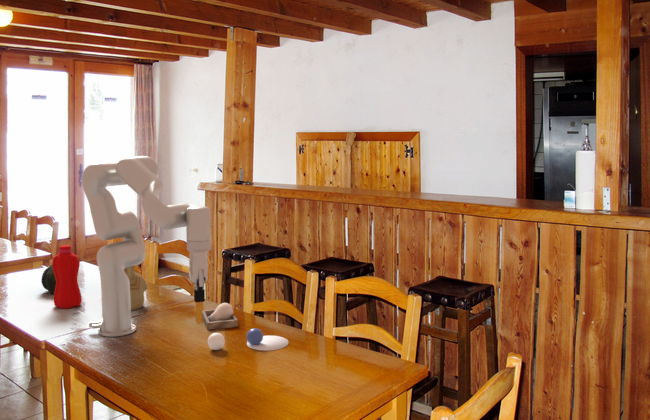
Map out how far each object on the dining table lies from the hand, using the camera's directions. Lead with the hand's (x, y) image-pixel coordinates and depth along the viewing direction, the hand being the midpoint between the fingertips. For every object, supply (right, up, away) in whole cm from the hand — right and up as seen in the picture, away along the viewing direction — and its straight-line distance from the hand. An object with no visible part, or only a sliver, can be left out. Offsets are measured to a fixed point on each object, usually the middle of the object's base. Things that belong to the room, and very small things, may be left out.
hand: (199, 301), depth 189 cm
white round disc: (+21, -15, +9) cm, 28 cm away
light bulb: (+1, -12, +32) cm, 34 cm away
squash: (-78, -7, +73) cm, 107 cm away
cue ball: (+5, -13, +3) cm, 14 cm away
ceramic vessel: (-40, -10, +49) cm, 64 cm away
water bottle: (-65, -10, +51) cm, 83 cm away
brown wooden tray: (+1, -13, +31) cm, 34 cm away
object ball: (+17, -13, +7) cm, 22 cm away
